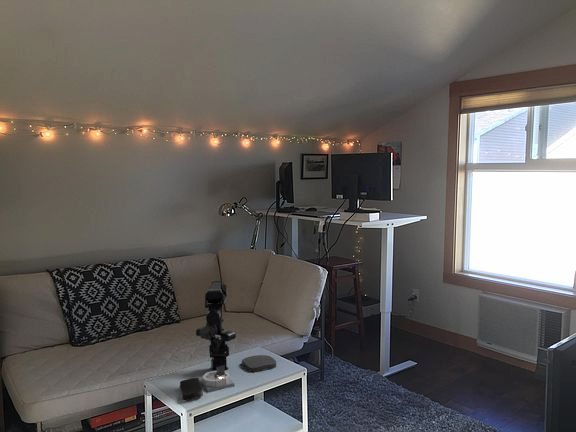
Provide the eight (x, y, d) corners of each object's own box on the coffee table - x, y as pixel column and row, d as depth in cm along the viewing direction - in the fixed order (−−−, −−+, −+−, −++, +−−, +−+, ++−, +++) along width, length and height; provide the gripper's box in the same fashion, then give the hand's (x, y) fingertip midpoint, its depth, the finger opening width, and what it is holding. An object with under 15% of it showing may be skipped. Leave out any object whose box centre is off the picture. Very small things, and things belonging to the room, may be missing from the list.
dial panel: (224, 376, 230) (223, 367, 229) (234, 386, 219) (234, 376, 218) (198, 381, 224) (198, 372, 224) (208, 392, 213) (207, 382, 213)
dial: (219, 375, 227) (219, 362, 226) (228, 380, 221) (228, 367, 220) (203, 380, 222) (203, 367, 222) (212, 385, 216) (212, 372, 215)
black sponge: (203, 399, 206) (203, 391, 206) (182, 402, 204) (182, 394, 204) (198, 384, 222) (198, 376, 222) (179, 387, 219) (178, 379, 219)
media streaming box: (239, 363, 246) (239, 357, 246) (267, 358, 252) (267, 352, 252) (250, 373, 233) (250, 367, 233) (279, 368, 239) (278, 362, 239)
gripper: (186, 319, 221) (188, 354, 222) (219, 325, 211) (220, 362, 212) (203, 313, 230) (204, 347, 231) (236, 319, 220) (237, 353, 221)
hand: (216, 352), depth 224 cm, fingers closed
